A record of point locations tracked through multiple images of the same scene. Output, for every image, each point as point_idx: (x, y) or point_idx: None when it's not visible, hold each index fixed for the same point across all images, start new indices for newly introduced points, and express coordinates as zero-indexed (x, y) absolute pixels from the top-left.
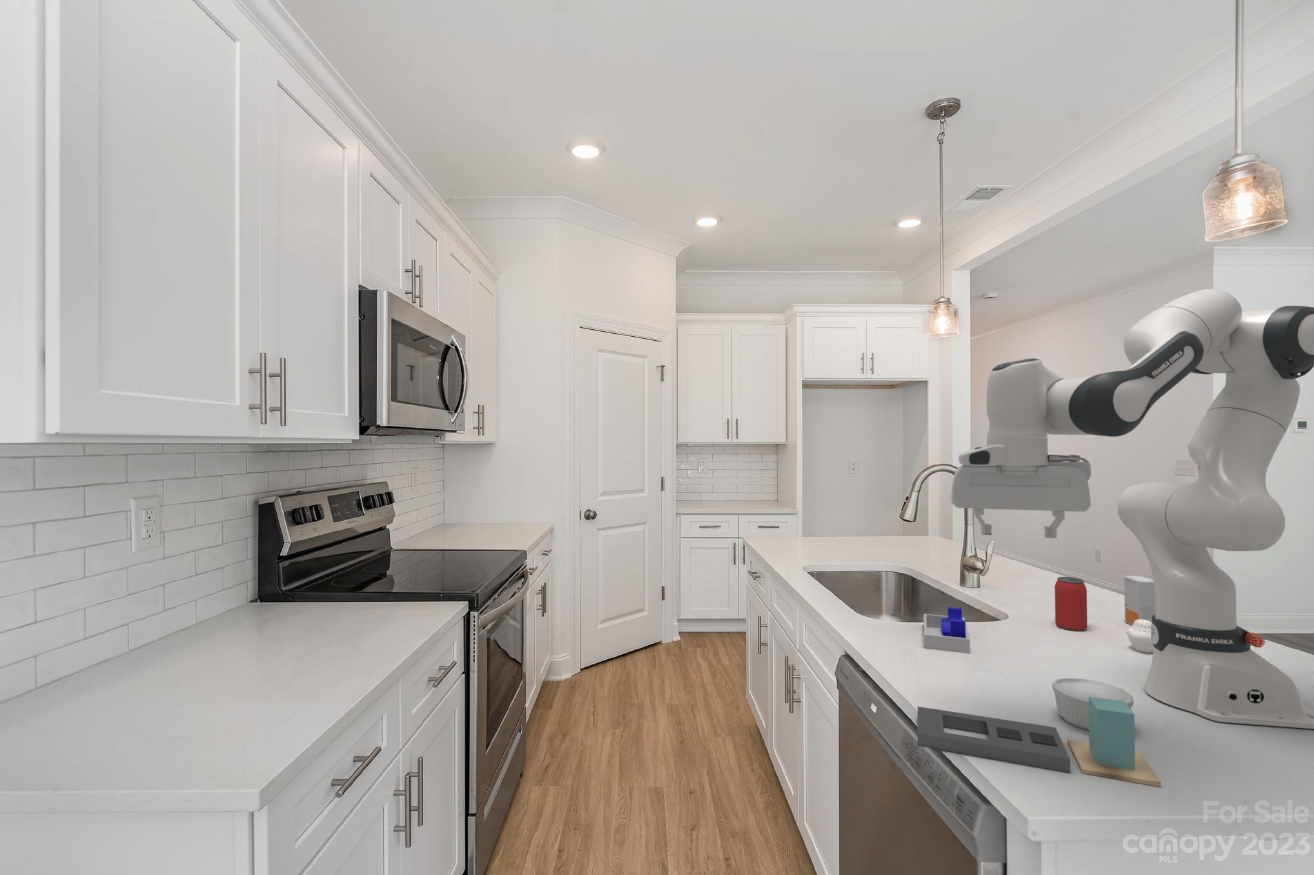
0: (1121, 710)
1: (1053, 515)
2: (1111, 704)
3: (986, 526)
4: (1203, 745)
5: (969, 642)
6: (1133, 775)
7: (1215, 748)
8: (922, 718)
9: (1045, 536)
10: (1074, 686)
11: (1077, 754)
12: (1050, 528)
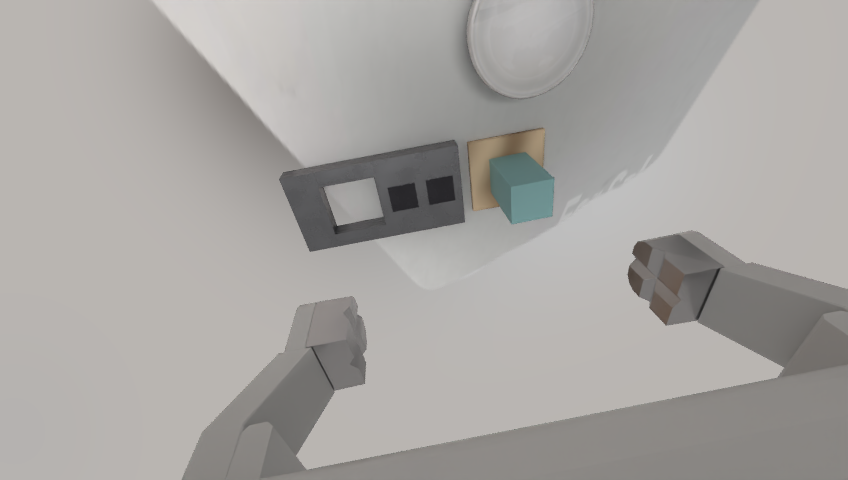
0: (540, 213)
1: (802, 360)
2: (534, 198)
3: (336, 382)
4: (638, 42)
5: None
6: None
7: (649, 45)
8: (300, 213)
9: (635, 255)
10: (506, 24)
11: (474, 180)
12: (684, 317)
